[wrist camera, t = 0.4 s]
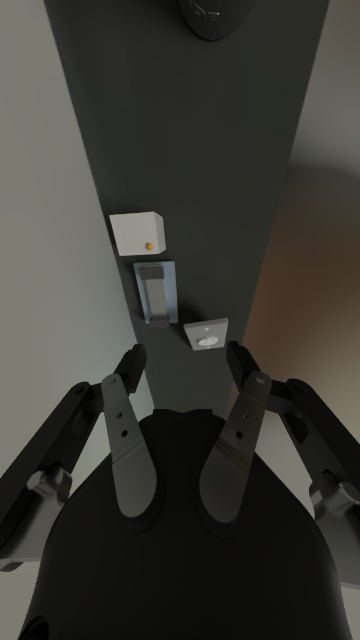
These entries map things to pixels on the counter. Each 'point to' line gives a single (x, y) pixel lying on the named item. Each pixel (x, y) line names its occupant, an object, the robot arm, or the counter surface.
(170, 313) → the plate
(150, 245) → the block
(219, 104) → the counter surface
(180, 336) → the counter surface
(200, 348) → the light switch
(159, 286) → the din rail
